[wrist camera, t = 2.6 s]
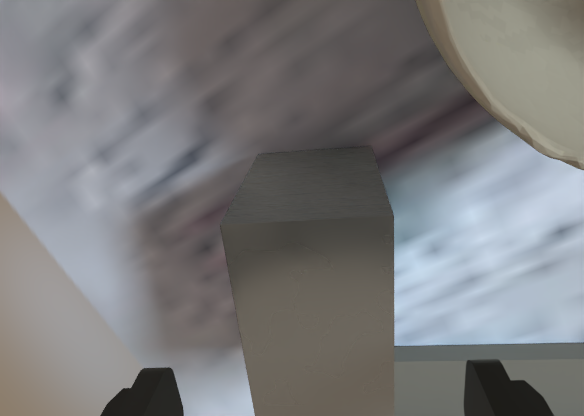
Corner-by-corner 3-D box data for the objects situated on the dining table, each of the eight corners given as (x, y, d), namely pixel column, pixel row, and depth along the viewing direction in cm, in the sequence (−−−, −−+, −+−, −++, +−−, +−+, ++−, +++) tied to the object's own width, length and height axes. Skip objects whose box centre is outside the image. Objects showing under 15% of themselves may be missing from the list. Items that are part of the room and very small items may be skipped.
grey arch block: (258, 154, 17) (220, 224, 11) (371, 145, 17) (393, 215, 11) (279, 315, 20) (258, 437, 14) (375, 312, 20) (394, 437, 14)
